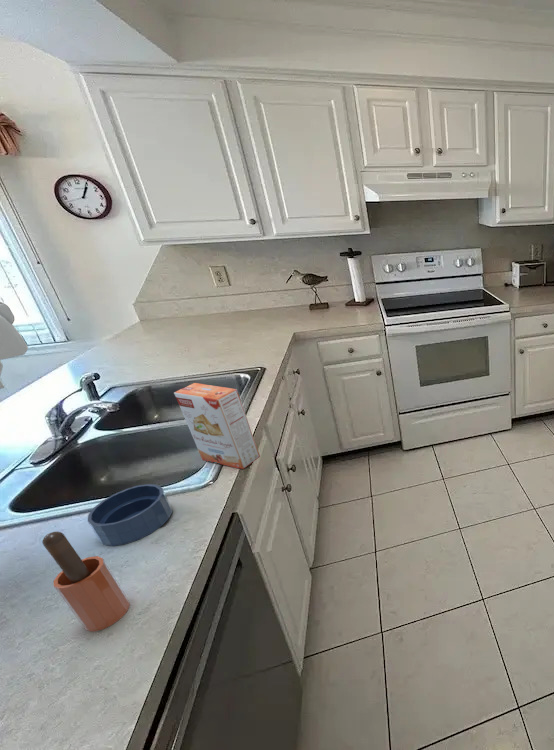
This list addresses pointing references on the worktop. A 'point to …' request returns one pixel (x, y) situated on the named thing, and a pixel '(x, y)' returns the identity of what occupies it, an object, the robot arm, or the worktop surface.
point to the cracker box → (218, 424)
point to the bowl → (130, 514)
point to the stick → (65, 556)
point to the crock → (94, 596)
